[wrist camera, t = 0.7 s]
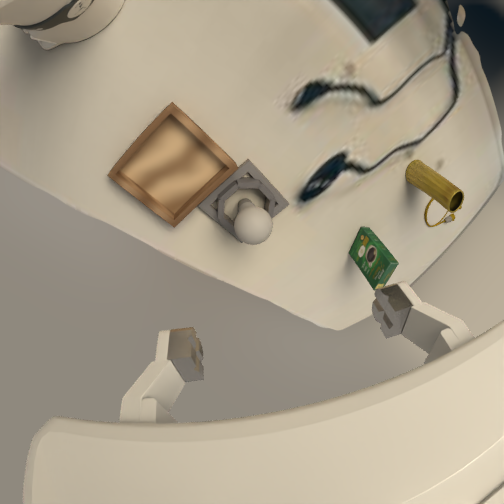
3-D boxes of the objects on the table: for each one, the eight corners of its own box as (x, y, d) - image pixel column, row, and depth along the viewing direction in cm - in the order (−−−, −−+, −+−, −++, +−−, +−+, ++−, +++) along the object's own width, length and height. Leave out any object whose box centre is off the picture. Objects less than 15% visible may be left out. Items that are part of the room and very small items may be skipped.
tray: (111, 168, 40) (107, 175, 38) (172, 101, 36) (170, 103, 34) (174, 218, 49) (174, 227, 47) (235, 162, 45) (238, 168, 42)
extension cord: (437, 234, 69) (441, 238, 68) (416, 215, 62) (421, 219, 61) (459, 204, 64) (464, 208, 62) (441, 180, 57) (446, 183, 55)
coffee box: (356, 254, 65) (383, 291, 55) (347, 253, 64) (373, 291, 54) (369, 227, 60) (400, 262, 50) (360, 225, 59) (391, 261, 49)
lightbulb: (222, 211, 50) (231, 247, 42) (235, 183, 47) (247, 213, 39) (252, 220, 53) (266, 256, 44) (266, 193, 50) (284, 225, 41)
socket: (197, 204, 48) (198, 210, 46) (248, 158, 45) (251, 163, 43) (241, 240, 55) (243, 248, 53) (288, 202, 52) (292, 208, 50)
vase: (402, 183, 54) (443, 215, 43) (408, 158, 51) (452, 188, 40) (420, 183, 55) (459, 214, 44) (425, 160, 51) (468, 188, 40)
